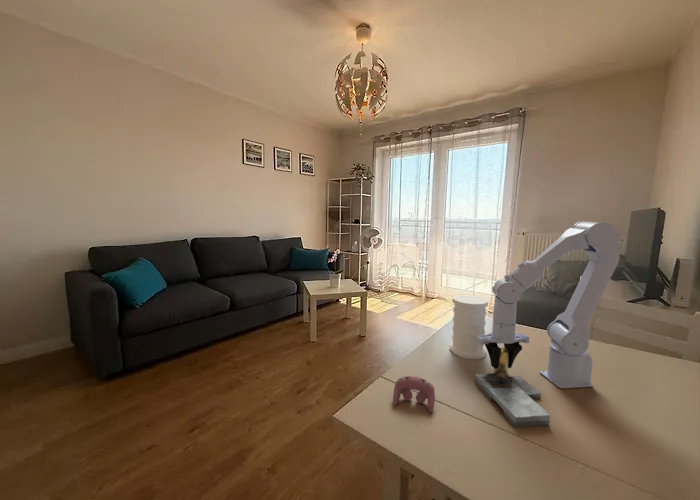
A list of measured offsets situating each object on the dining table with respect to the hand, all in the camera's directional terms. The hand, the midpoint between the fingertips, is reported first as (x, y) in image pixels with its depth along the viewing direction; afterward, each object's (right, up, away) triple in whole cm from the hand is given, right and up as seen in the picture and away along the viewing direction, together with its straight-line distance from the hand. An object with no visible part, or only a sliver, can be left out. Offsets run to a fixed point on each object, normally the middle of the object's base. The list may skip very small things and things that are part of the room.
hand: (501, 366), depth 85 cm
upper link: (-5, -4, -13) cm, 14 cm away
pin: (0, -2, 0) cm, 2 cm away
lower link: (-3, -3, -8) cm, 9 cm away
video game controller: (-28, -4, -13) cm, 31 cm away
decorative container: (-4, 0, +14) cm, 14 cm away
